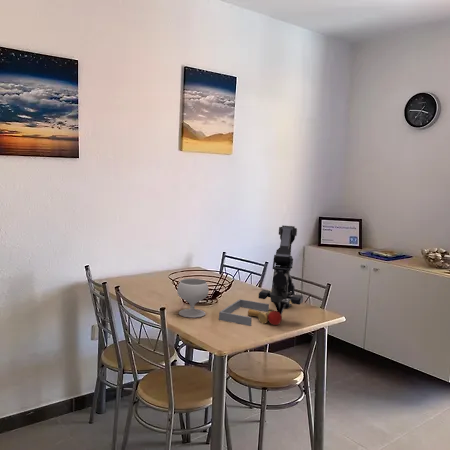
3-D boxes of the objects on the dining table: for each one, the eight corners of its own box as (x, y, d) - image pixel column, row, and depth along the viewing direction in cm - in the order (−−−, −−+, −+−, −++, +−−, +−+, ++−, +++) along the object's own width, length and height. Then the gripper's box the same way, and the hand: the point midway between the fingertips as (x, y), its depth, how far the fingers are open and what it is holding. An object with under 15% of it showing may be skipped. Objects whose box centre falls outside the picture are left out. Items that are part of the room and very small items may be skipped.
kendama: (243, 320, 207) (273, 326, 193) (244, 306, 207) (274, 310, 194) (254, 320, 212) (285, 325, 199) (256, 306, 213) (286, 310, 199)
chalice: (207, 309, 215) (208, 278, 213) (207, 319, 201) (209, 286, 199) (177, 308, 214) (178, 277, 212) (175, 318, 200) (176, 284, 199)
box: (239, 306, 223) (239, 299, 222) (268, 311, 217) (269, 304, 217) (218, 319, 201) (219, 312, 201) (250, 325, 196) (251, 317, 195)
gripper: (255, 282, 197) (253, 317, 199) (297, 288, 190) (295, 325, 192) (263, 277, 207) (261, 310, 209) (304, 282, 200) (302, 317, 202)
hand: (279, 315), depth 203 cm, fingers closed
